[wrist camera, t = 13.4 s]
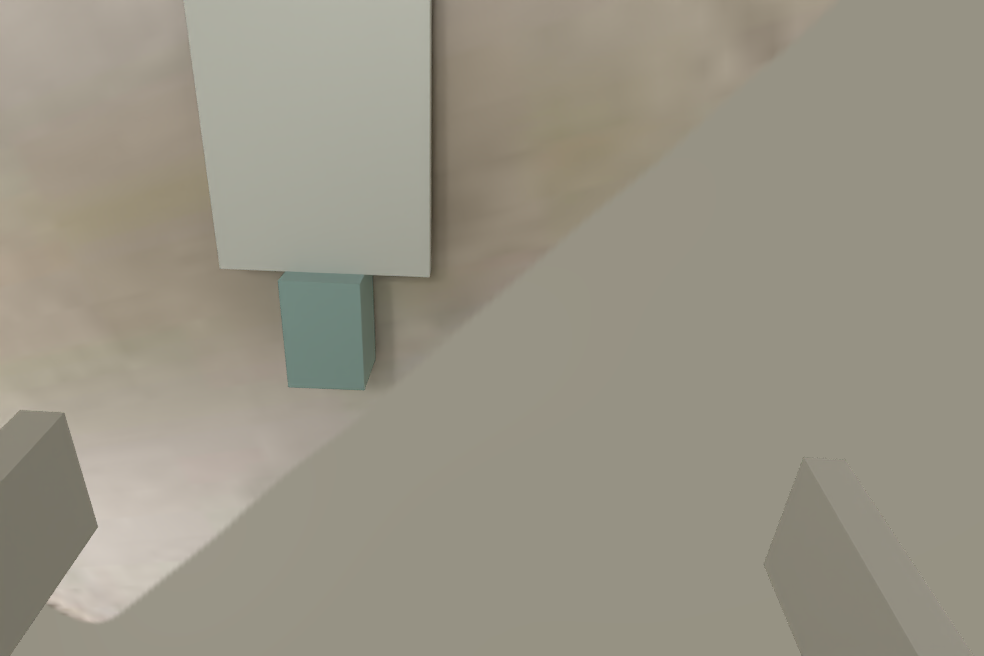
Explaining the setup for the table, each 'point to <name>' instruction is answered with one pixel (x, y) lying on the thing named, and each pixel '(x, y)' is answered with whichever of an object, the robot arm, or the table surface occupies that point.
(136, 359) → the table surface
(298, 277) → the lid
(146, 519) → the table surface
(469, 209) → the table surface
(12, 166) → the table surface
